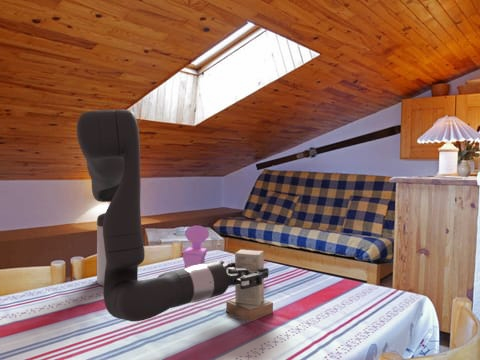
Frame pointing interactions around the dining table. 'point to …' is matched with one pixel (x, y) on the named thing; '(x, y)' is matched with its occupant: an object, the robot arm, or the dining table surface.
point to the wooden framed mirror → (249, 309)
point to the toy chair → (195, 246)
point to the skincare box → (251, 262)
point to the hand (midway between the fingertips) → (254, 268)
